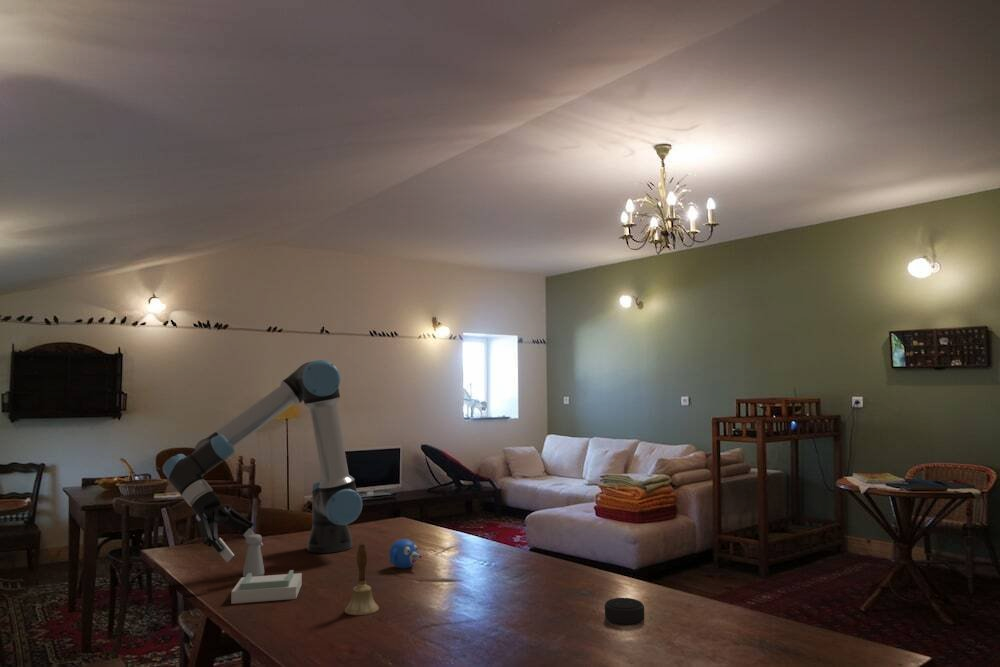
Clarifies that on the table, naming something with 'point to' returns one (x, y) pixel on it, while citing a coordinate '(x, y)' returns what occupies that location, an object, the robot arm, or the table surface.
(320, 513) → the robot arm
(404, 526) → the table surface
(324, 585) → the table surface
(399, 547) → the blue rounded piece
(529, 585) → the table surface
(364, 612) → the hand bell
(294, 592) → the dock
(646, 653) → the table surface
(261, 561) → the salt shaker
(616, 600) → the smart speaker
